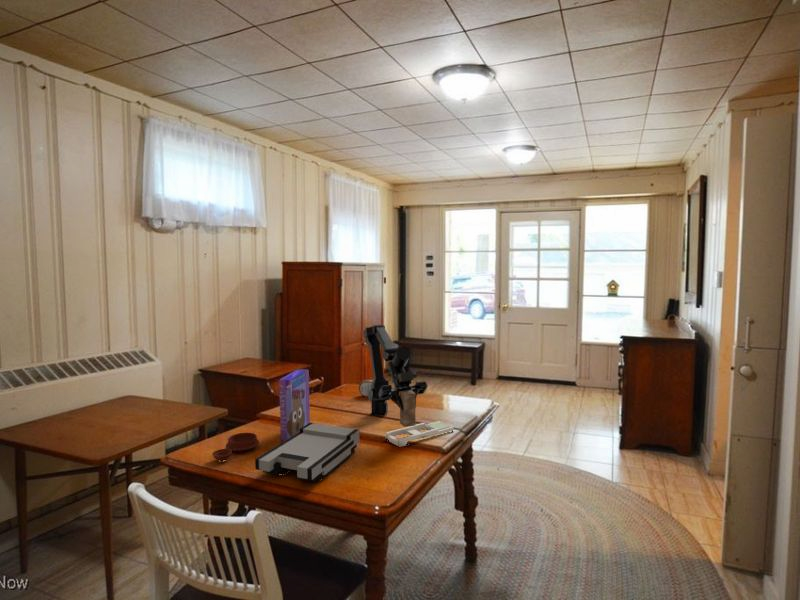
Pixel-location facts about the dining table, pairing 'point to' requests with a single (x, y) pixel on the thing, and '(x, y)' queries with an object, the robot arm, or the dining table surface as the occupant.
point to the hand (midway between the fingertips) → (409, 409)
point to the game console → (311, 452)
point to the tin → (365, 387)
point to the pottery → (237, 445)
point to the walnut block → (407, 408)
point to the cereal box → (294, 403)
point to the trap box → (415, 434)
